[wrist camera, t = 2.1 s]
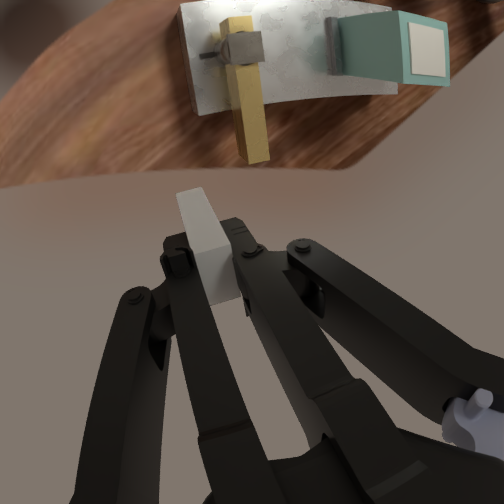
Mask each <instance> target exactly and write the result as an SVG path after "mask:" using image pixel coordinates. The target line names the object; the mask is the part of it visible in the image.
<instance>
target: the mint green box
mask: <svg viewBox="0 0 504 504" xmlns="http://www.w3.org/2000/svg"><path fill="white" fill-rule="evenodd" d="M338 26H339V35H340V45H341V55H342V67H343V75H346V76H355V77H363V78H371V79H378V80H385V81H391V82H397V83H403V84H421V85H436V86H447V87H450V61H449V42H448V29H447V23H445V22H442V21H438V20H435V19H431V18H428V17H424V16H420V15H416V14H412V13H408V12H403V11H399V10H397V11H386V12H376V13H368V14H361V15H354V16H348V17H342V18H338Z"/></svg>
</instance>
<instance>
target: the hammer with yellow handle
mask: <svg viewBox="0 0 504 504" xmlns="http://www.w3.org/2000/svg"><path fill="white" fill-rule="evenodd" d="M219 27H220V34H221V40H220V41H219V42H218V43H217V45H216V46H215V50H214V55H215V58H216V60H217V61H218V62H219V63H220V64H221V65H223V66H225V67H226V74H227V80H228V87H229V94H230V100H231V107H232V114H233V120H234V127H235V134H236V140H237V147H238V154H239V156H240V157H242V158H243V159H244V160H245V161H246V162H247V163H248V164H253V163H258V162H262V161H267V160H270V156H269V147H268V138H267V129H266V121H265V112H264V104H263V96H262V88H261V80H260V73H259V65H258V62H265V57H264V50H263V42H262V35H261V31H254V29H253V22H252V15H249V16H236V17H228V18H226V19H225V20H223V21H222V22H221V23H219Z"/></svg>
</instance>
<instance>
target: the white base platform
mask: <svg viewBox="0 0 504 504" xmlns="http://www.w3.org/2000/svg"><path fill="white" fill-rule="evenodd" d="M386 11H392V7H387V6H382V5H376V4H370V3H364V2H357V1H349V0H205V1H198V2H191V3H184V4H180V6H179V8H178V11H177V13H176V16H177V23H178V29H179V36H180V42H181V48H182V54H183V60H184V66H185V72H186V77H187V83H188V89H189V94H190V100H191V106H192V111H193V112H194V113H196V114H197V115H198V116H202V115H206V114H211V113H216V112H221V111H226V110H232V107H231V100H230V94H229V87H228V80H227V74H226V67H225V66H223V65H221V64H220V63H219V62H218V61H217V60H216V58H215V55H214V50H215V46H216V45H217V43H218V42H219V41H220V40H221V34H220V27H219V23H221V22H222V21H223V20H225V19H226V18H228V17H236V16H249V15H252V22H253V29H254V31H261V35H262V42H263V50H264V57H265V62H258V65H259V73H260V80H261V88H262V96H263V104H269V103H276V102H283V101H292V100H301V99H310V98H321V97H334V96H350V95H374V94H398V85H397V82H391V81H385V80H378V79H371V78H363V77H355V76H346V75H343V67H342V55H341V45H340V35H339V26H338V18H342V17H348V16H354V15H361V14H368V13H376V12H386Z"/></svg>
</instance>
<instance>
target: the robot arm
mask: <svg viewBox="0 0 504 504" xmlns="http://www.w3.org/2000/svg"><path fill="white" fill-rule="evenodd" d="M477 1H479V2H481V3H490V4H492V3H497V2H500V1H503V0H477ZM176 198H177V202H178V206H179V210H180V213H181V217H182V221H183V224H184V228H185V232H183V233H179V234H176V235H172V236H169V237H166V239H165V241H164V242H163V248H164V252H163V254H162V255H161V256H160V263H161V265H162V268H163V271H164V274H165V276H166V279H165V281H164V282H163V283H162V284H161V285H160V286H158V287H157V288H155V289H153V290H151V291H150V290H149V288H147V287H144V286H142V287H141V286H138V287H135V288H132V289H130V290H128V291H126V293H124V294H123V295H122V297H121V299H120V301H119V304H118V307H117V310H116V314H115V317H114V320H113V323H112V326H111V329H110V333H109V336H108V339H107V343H106V346H105V350H104V353H103V357H102V360H101V364H100V368H99V371H98V375H97V379H96V383H95V387H94V391H93V395H92V399H91V403H90V408H89V412H88V417H87V421H86V427H85V431H84V436H83V441H82V447H81V452H80V458H79V464H78V470H77V477H76V484H75V491H74V495H73V496H72V498H71V501H70V503H69V504H159V481H160V461H161V460H160V459H161V445H162V431H163V417H164V406H165V396H166V385H167V375H168V366H169V357H170V349H171V336H173V335H175V334H176V338H177V343H178V347H179V352H180V357H181V361H182V366H183V371H184V375H185V380H186V384H187V388H188V392H189V396H190V401H191V405H192V408H193V413H194V416H195V420H196V424H197V427H198V431H199V436H198V445H199V449H200V453H201V456H202V460H203V464H204V467H205V470H206V473H207V477H208V480H209V483H210V486H211V490H212V492H211V493H210V494H209V495H208V496H207V498H206V499H205V501H204V502H203V504H504V359H503V358H500V357H498V356H495V355H492V354H489V353H486V352H483V351H481V350H478V349H475V348H473V347H471V346H470V345H469V344H467V343H466V342H464V341H463V340H462V339H460V338H459V337H458V336H456V335H454V334H453V333H452V332H450V331H449V330H448V329H446V328H445V327H443V326H442V325H441V324H439V323H438V322H436V321H435V320H434V319H432V318H431V317H429V316H428V315H426V314H425V313H423V312H422V311H421V310H419V309H417V308H416V307H415V306H413V305H412V304H410V303H409V302H407V301H406V300H404V299H403V298H402V297H400V296H399V295H397V294H396V293H394V292H393V291H391V290H390V289H388V288H387V287H385V286H383V285H382V284H381V283H379V282H378V281H376V280H375V279H373V278H372V277H370V276H368V275H367V274H365V273H364V272H362V271H361V270H359V269H358V268H356V267H355V266H353V265H352V264H350V263H349V262H347V261H345V260H344V259H342V258H341V257H339V256H338V255H336V254H334V253H333V252H331V251H330V250H328V249H327V248H325V247H324V246H322V245H320V244H318V243H317V242H315V241H313V240H311V239H297V240H293V241H292V242H290V243H289V244H288V245H287V251H268V250H267V249H266V247H264V246H263V245H261V244H258V243H257V242H256V241H255V239H254V237H253V236H252V235H251V233H250V231H249V230H248V229H247V227H246V226H245V224H244V222H243V221H242V220H240V219H238V218H236V217H235V218H231V219H227V220H223V221H220V222H219V221H218V219H217V217H216V215H215V213H214V211H213V209H212V207H211V205H210V203H209V201H208V199H207V197H206V195H205V193H204V191H203V189H202V187H198V188H194V189H190V190H186V191H183V192H179V193H176ZM240 291H241V293H242V296H243V301H244V306H245V311H246V316H247V317H248V316H250V318H251V321H252V322H253V325H254V327H255V329H256V331H257V334H258V336H259V338H260V340H261V342H262V344H263V346H264V349H265V351H266V353H267V355H268V357H269V359H270V361H271V364H272V366H273V368H274V370H275V372H276V374H277V376H278V378H279V380H280V383H281V384H282V387H283V389H284V391H285V393H286V395H287V397H288V399H289V401H290V403H291V405H292V407H293V410H294V412H295V414H296V416H297V418H298V420H299V422H300V424H301V426H302V428H303V430H304V432H305V434H306V437H307V440H308V444H309V447H310V450H309V451H308V452H306V453H305V454H303V455H302V456H299V457H293V458H286V459H277V460H268V459H267V457H266V455H265V452H264V450H263V447H262V445H261V442H260V440H259V438H258V435H257V432H256V430H255V428H254V425H253V423H252V421H251V419H250V416H249V414H248V411H247V409H246V406H245V403H244V401H243V398H242V396H241V393H240V390H239V388H238V385H237V382H236V379H235V377H234V374H233V371H232V369H231V366H230V363H229V360H228V357H227V354H226V352H225V349H224V346H223V343H222V340H221V338H220V334H219V332H218V329H217V326H216V323H215V320H214V317H213V314H212V311H211V308H210V306H212V305H215V304H218V303H222V302H225V301H228V300H231V299H235V298H238V297H241V294H240ZM318 325H319V326H320V327H321V328H322V329H323V330H324V331H325V332H327V333H328V334H329V335H330V336H331V337H332V338H333V339H334V340H336V341H337V342H338V343H339V344H340V345H341V346H343V347H344V348H345V349H346V350H347V351H348V352H349V353H351V354H352V355H353V356H354V357H355V358H356V359H357V360H359V361H360V362H361V363H362V364H363V365H364V366H365V367H367V368H368V369H369V370H370V371H371V372H372V373H374V374H375V375H376V376H377V377H378V378H379V379H380V380H382V381H383V382H384V383H385V384H386V385H387V386H389V387H390V388H391V389H392V390H393V391H394V392H396V393H397V394H398V395H399V396H400V397H401V398H403V399H404V400H405V401H406V402H407V403H408V404H410V405H411V406H412V407H413V408H414V409H416V410H417V411H418V412H419V413H421V414H422V415H423V416H425V417H427V418H428V419H430V420H432V421H434V422H435V423H437V424H440V425H442V431H443V433H442V436H443V439H444V440H445V441H446V442H449V443H451V442H453V443H454V444H455V445H456V446H457V447H456V446H453V445H450V444H446V443H443V442H440V441H436V440H433V439H430V438H427V437H424V436H421V435H418V434H415V433H412V432H409V431H406V430H404V429H400V428H397V427H396V426H395V424H394V423H393V421H392V420H391V418H390V417H389V415H388V414H387V412H386V411H385V409H384V408H383V406H382V405H381V403H380V402H379V400H378V399H377V397H376V396H375V394H374V393H373V392H372V390H371V388H370V387H369V386H368V384H367V383H366V382H365V381H364V380H362V379H360V378H359V379H355V378H354V377H353V376H352V375H351V374H350V372H349V371H348V370H347V368H346V366H345V365H344V363H343V362H342V360H341V359H340V357H339V356H338V354H337V353H336V351H335V350H334V348H333V347H332V345H331V344H330V342H329V341H328V339H327V338H326V336H325V335H324V333H323V332H322V330H321V329H320V327H319V326H318Z"/></svg>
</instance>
